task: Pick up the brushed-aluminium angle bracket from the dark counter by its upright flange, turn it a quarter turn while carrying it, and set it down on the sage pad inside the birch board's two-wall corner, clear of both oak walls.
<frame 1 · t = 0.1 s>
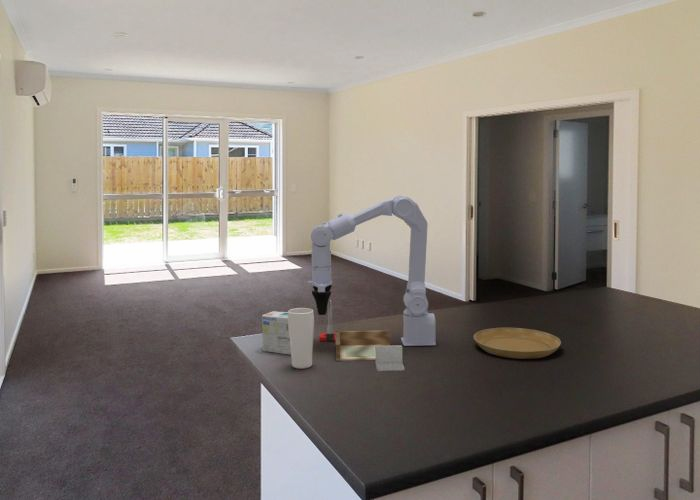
hand: (322, 311, 170), 10 cm above the worktop, tool pointing down, fingers open, 7 cm apart
light bulb box: (284, 351, 166), on the worktop
plant saucer: (516, 349, 165), on the worktop
board: (364, 352, 163), on the worktop
bracket: (388, 364, 152), on the worktop
drinking glass: (302, 366, 152), on the worktop
tow hook: (332, 339, 179), on the worktop
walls: (363, 343, 163), on the board, point 2 cm above the worktop
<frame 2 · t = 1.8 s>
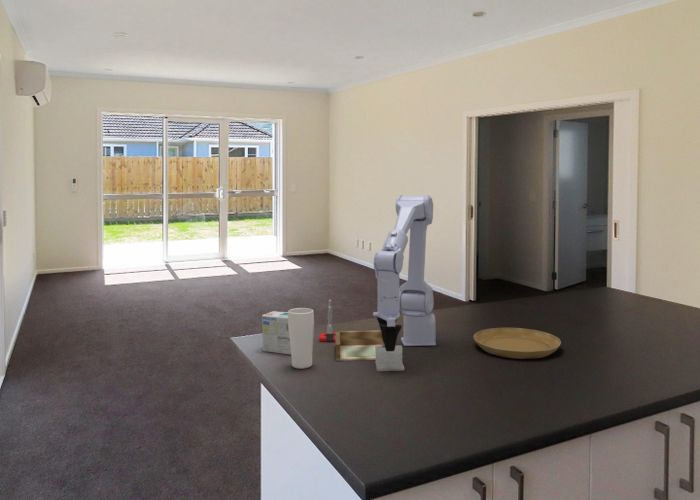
hand: (388, 346, 152), 5 cm above the worktop, tool pointing down, fingers open, 7 cm apart
nothing on the worktop moved.
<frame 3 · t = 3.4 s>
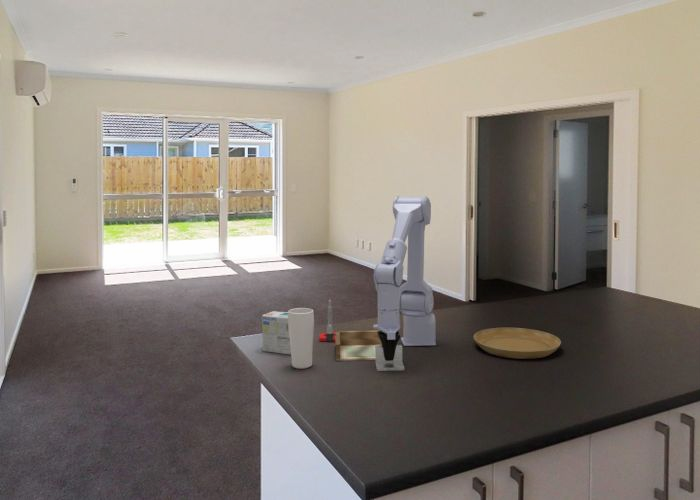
hand: (388, 359, 152), 1 cm above the worktop, tool pointing down, fingers closed on bracket
bracket: (388, 364, 152), on the worktop, touching gripper
everything else where it was.
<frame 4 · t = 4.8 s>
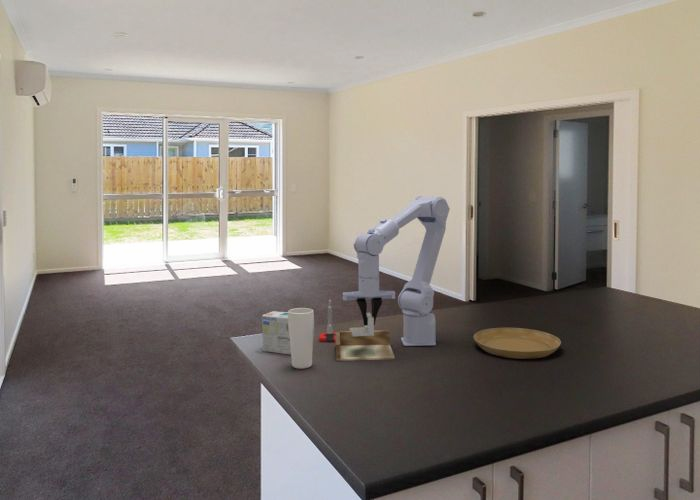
hand: (369, 324, 161), 8 cm above the worktop, tool pointing down, fingers closed on bracket
bracket: (369, 332, 161), point 6 cm above the worktop, touching gripper
everything else where it was.
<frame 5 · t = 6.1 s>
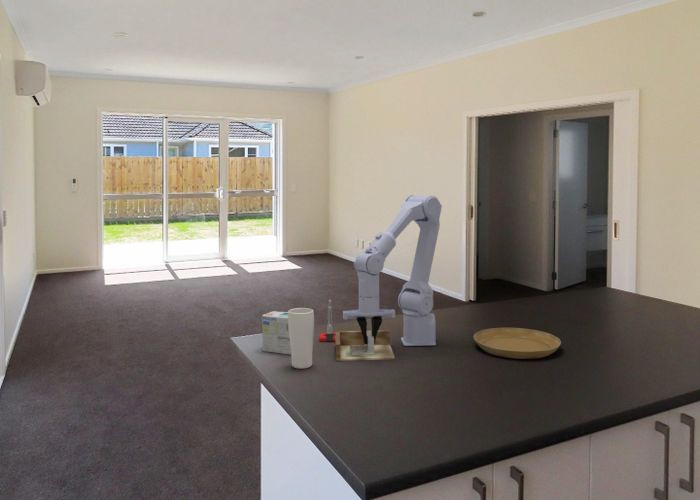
hand: (369, 343, 162), 3 cm above the worktop, tool pointing down, fingers closed on bracket
bracket: (369, 351, 162), point 1 cm above the worktop, touching board, gripper
everything else where it was.
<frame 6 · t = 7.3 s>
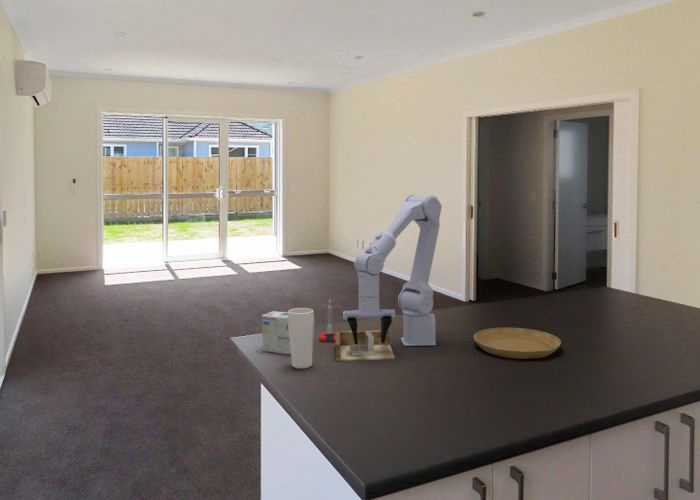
hand: (369, 343, 162), 3 cm above the worktop, tool pointing down, fingers open, 7 cm apart
bracket: (369, 351, 162), point 1 cm above the worktop, touching board
everything else where it was.
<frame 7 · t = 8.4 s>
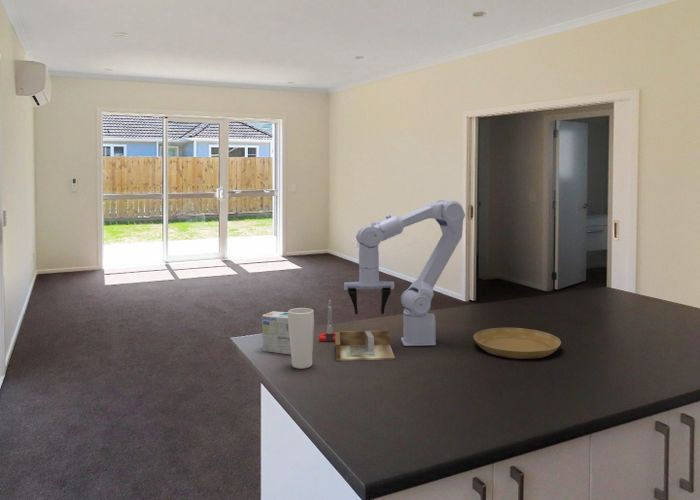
hand: (369, 313, 168), 10 cm above the worktop, tool pointing down, fingers open, 7 cm apart
nothing on the worktop moved.
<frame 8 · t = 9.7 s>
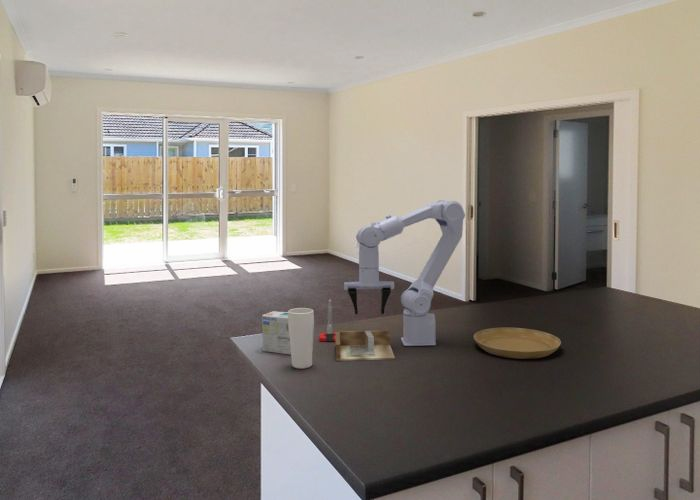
hand: (369, 313, 168), 10 cm above the worktop, tool pointing down, fingers open, 7 cm apart
nothing on the worktop moved.
at the end: bracket inside the target area (1.5 cm from its centre), point 0.6 cm above the worktop; bracket tilted 0°; bracket touching board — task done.
